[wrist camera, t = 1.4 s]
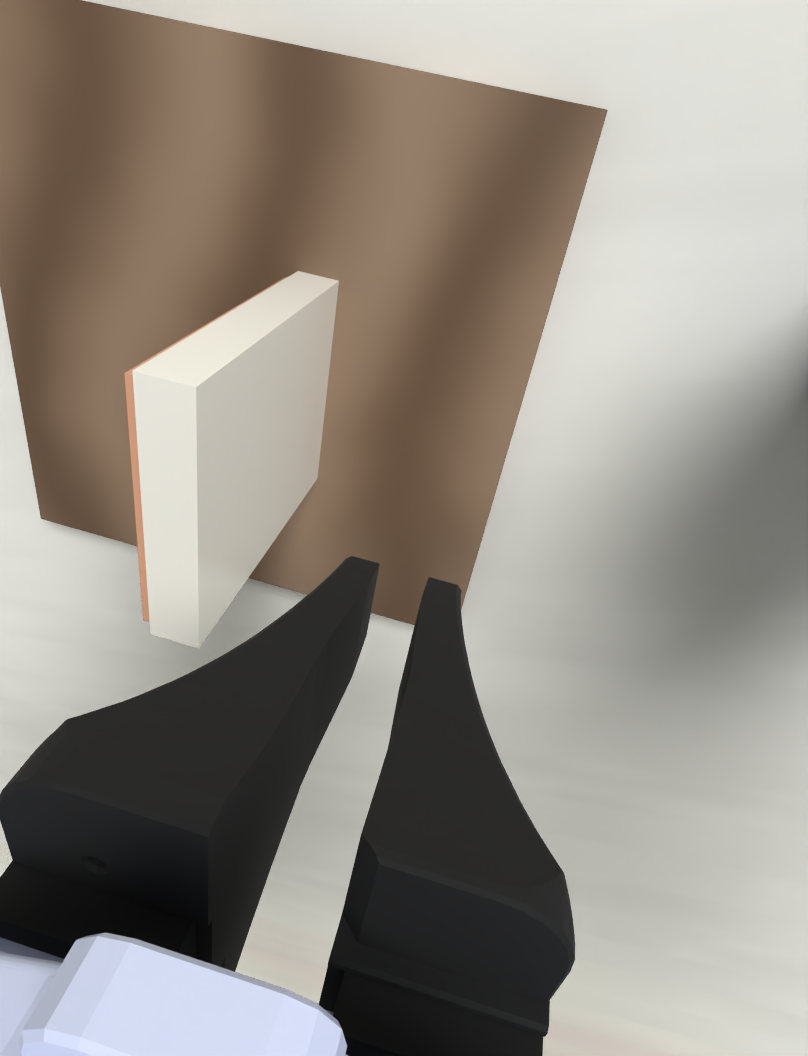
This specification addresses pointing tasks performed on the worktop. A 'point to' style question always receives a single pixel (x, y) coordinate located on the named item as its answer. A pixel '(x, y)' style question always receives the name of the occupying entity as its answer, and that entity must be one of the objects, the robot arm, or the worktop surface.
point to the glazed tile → (226, 448)
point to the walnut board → (281, 264)
